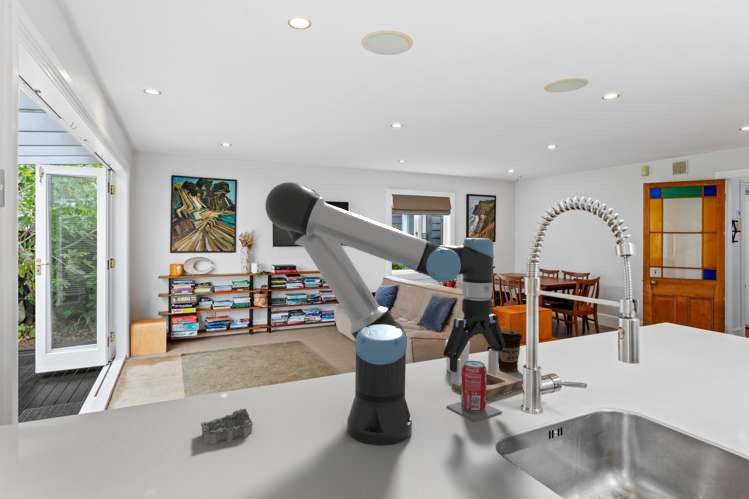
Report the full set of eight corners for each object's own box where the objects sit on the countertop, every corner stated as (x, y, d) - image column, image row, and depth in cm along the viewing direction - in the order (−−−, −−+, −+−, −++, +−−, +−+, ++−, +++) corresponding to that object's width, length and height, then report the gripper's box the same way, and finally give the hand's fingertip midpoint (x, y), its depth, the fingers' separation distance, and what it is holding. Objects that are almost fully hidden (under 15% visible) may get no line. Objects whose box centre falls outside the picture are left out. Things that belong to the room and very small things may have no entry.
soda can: (461, 412, 109) (462, 366, 109) (460, 402, 115) (461, 358, 115) (486, 414, 108) (487, 367, 107) (484, 404, 114) (485, 360, 114)
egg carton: (248, 423, 103) (248, 407, 103) (254, 437, 96) (254, 419, 96) (200, 432, 98) (200, 415, 98) (203, 447, 91) (203, 429, 91)
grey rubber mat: (474, 421, 105) (474, 420, 105) (446, 407, 113) (446, 405, 113) (502, 412, 110) (502, 411, 110) (473, 399, 119) (473, 398, 119)
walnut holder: (480, 400, 118) (480, 391, 118) (451, 387, 127) (451, 379, 127) (523, 388, 128) (523, 380, 128) (493, 376, 137) (493, 369, 137)
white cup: (462, 376, 137) (463, 345, 137) (440, 371, 142) (441, 341, 141) (472, 370, 143) (473, 340, 143) (451, 365, 148) (452, 336, 148)
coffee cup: (524, 374, 140) (526, 335, 139) (499, 373, 140) (500, 334, 140) (516, 365, 149) (517, 328, 148) (492, 365, 149) (493, 328, 148)
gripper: (451, 304, 100) (449, 393, 101) (520, 296, 114) (518, 374, 115) (430, 299, 107) (428, 383, 108) (498, 292, 120) (496, 366, 121)
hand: (474, 379), depth 111 cm, fingers open, 13 cm apart
